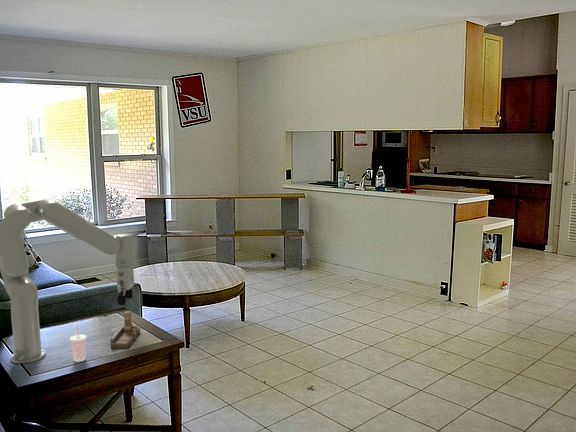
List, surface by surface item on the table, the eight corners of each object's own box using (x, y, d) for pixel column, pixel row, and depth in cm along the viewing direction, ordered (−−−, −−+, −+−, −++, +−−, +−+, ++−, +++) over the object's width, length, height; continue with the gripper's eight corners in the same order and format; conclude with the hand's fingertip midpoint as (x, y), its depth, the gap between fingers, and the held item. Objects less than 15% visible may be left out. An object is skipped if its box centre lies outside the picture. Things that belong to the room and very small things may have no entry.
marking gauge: (135, 331, 231) (134, 313, 230) (124, 331, 231) (123, 313, 230) (138, 328, 235) (137, 310, 234) (126, 328, 235) (125, 310, 234)
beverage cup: (67, 360, 206) (65, 325, 204) (81, 354, 212) (78, 321, 210) (78, 363, 203) (75, 328, 201) (91, 358, 209) (89, 323, 207)
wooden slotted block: (127, 347, 218) (127, 338, 218) (110, 348, 218) (110, 338, 218) (139, 332, 236) (139, 323, 236) (124, 332, 236) (123, 323, 236)
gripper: (127, 267, 220) (127, 307, 222) (139, 258, 237) (139, 296, 239) (109, 266, 220) (109, 306, 222) (122, 258, 237) (122, 295, 239)
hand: (125, 301), depth 230 cm, fingers open, 9 cm apart
